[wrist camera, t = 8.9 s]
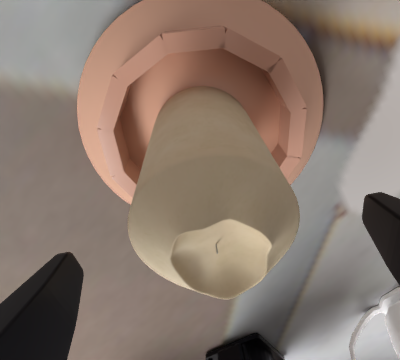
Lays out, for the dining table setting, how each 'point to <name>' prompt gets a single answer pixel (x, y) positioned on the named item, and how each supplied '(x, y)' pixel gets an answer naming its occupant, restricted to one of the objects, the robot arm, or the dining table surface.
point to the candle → (210, 197)
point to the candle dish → (197, 80)
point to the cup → (394, 320)
